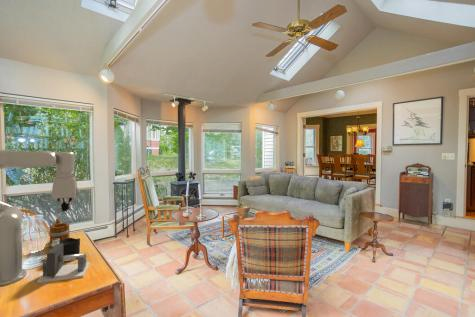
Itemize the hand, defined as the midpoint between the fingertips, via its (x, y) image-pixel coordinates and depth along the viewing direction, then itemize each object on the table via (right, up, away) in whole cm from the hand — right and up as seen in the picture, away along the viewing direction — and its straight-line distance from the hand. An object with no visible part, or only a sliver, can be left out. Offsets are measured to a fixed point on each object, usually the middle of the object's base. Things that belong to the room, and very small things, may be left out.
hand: (65, 210), depth 122 cm
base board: (+5, -29, -6) cm, 30 cm away
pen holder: (-4, -29, +8) cm, 30 cm away
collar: (+1, -27, -8) cm, 28 cm away
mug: (-23, -27, +26) cm, 44 cm away
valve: (-16, -28, +15) cm, 36 cm away
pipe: (+5, -29, -6) cm, 30 cm away
